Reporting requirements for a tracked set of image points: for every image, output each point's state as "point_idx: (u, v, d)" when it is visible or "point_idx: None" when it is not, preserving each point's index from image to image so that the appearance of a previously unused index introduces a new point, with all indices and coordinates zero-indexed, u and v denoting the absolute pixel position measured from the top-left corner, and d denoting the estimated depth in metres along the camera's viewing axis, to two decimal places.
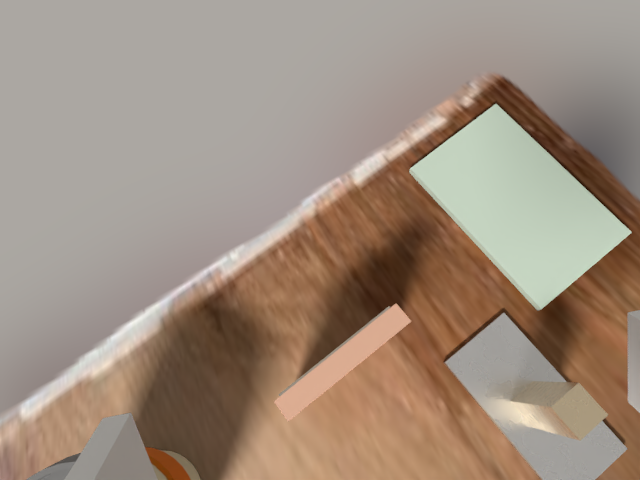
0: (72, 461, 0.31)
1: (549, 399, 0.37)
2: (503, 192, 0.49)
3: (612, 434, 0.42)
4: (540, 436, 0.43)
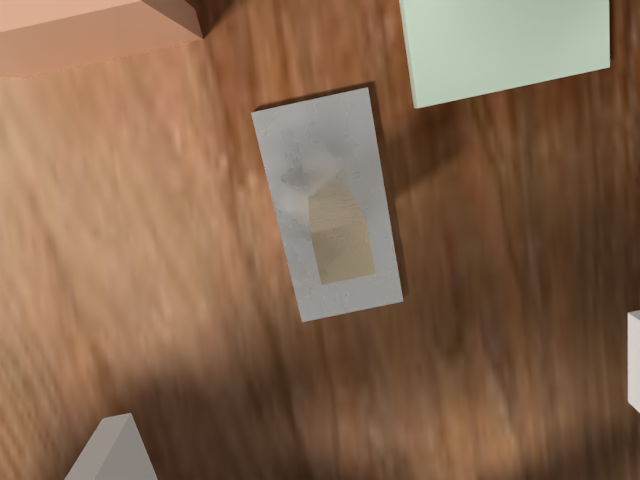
0: None
1: (323, 221, 0.25)
2: None
3: (398, 282, 0.35)
4: None
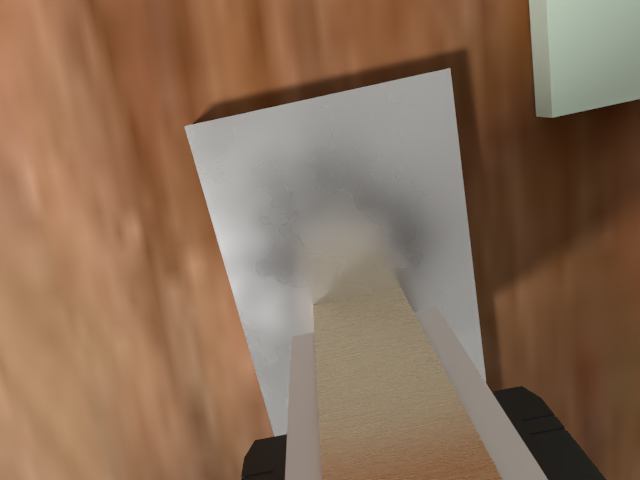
0: None
1: (366, 469, 0.08)
2: None
3: None
4: None
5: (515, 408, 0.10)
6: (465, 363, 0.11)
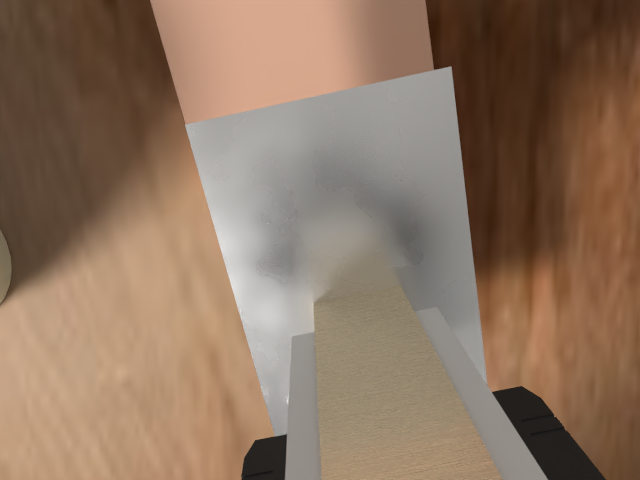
0: None
1: (365, 467, 0.08)
2: None
3: None
4: None
5: (515, 408, 0.10)
6: (465, 363, 0.11)
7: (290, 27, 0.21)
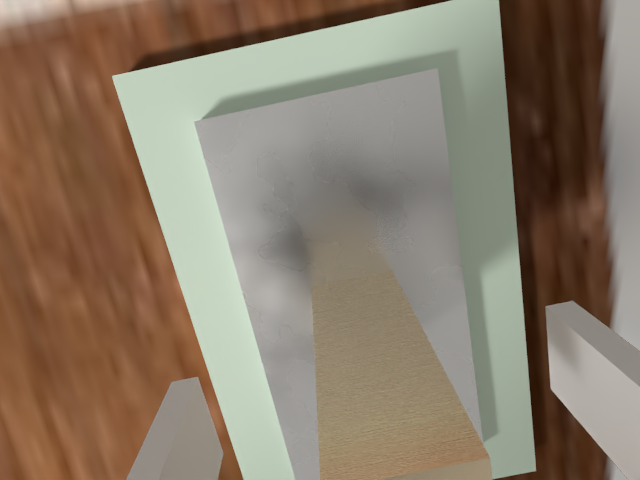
0: None
1: (355, 418, 0.09)
2: None
3: (478, 431, 0.19)
4: None
5: None
6: None
7: None
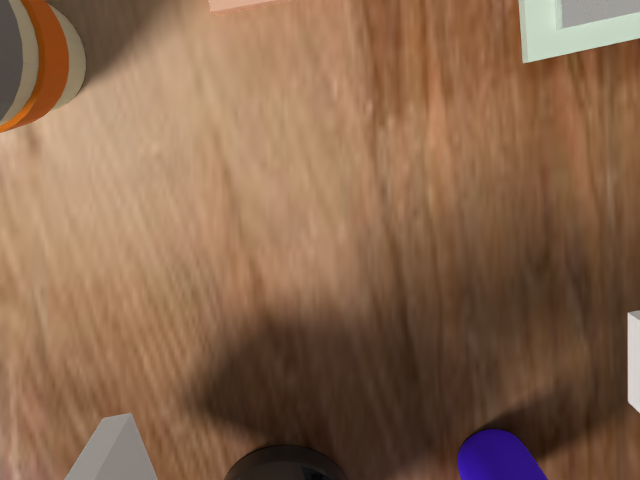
0: None
1: None
2: None
3: None
4: None
5: None
6: None
7: None
